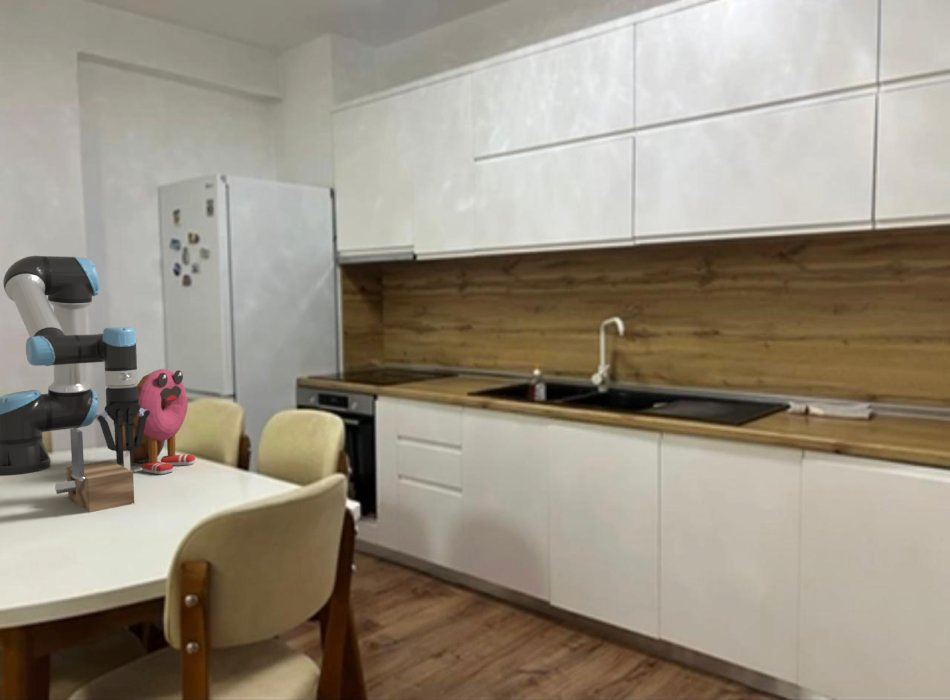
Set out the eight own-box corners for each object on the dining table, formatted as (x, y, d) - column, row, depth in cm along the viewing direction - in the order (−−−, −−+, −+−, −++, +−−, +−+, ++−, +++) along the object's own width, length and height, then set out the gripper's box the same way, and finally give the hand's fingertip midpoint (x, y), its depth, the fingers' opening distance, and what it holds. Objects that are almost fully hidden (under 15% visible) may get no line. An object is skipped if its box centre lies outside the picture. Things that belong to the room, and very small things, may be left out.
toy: (158, 477, 194) (154, 373, 192) (127, 476, 196) (123, 372, 194) (203, 460, 214) (199, 366, 212) (174, 459, 216) (170, 366, 215)
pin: (120, 484, 180) (119, 466, 180) (126, 488, 177) (125, 469, 176) (54, 496, 170) (53, 476, 169) (60, 500, 166) (59, 480, 166)
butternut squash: (110, 463, 212) (106, 384, 210) (151, 455, 223) (148, 379, 221) (134, 469, 204) (130, 386, 202) (175, 460, 215) (172, 382, 213)
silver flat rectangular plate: (71, 477, 165) (69, 428, 164) (77, 476, 166) (74, 428, 165) (80, 482, 160) (77, 432, 159) (85, 481, 161) (83, 431, 160)
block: (68, 497, 174) (66, 466, 173) (110, 489, 181) (109, 460, 181) (89, 512, 161) (88, 479, 161) (134, 503, 168) (132, 471, 168)
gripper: (99, 389, 170) (103, 482, 172) (153, 385, 179) (156, 473, 181) (89, 387, 175) (94, 477, 177) (142, 382, 185) (146, 468, 186)
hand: (125, 475), depth 179 cm, fingers closed
